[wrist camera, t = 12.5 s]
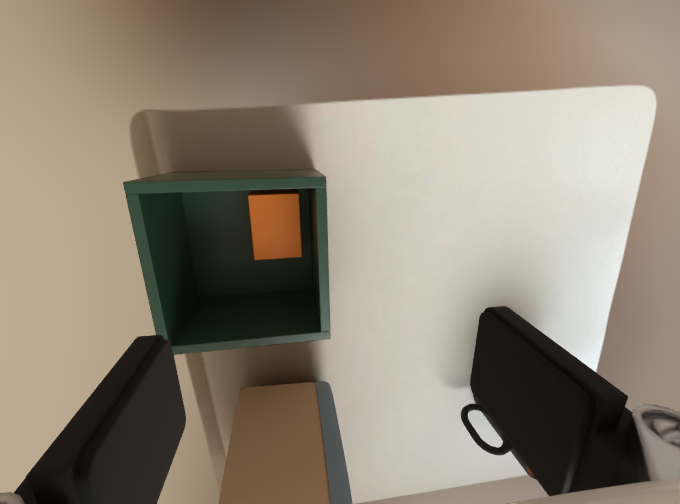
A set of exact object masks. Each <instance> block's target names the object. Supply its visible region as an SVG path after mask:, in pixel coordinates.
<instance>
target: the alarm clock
mask: <svg viewBox="0 0 680 504" xmlns="http://www.w3.org/2000/svg"><path fill="white" fill-rule="evenodd" d="M219 504H352V498H351V491H350V484H349V478H348V473H347V467H346V462H345V456H344V451H343V446H342V441H341V436H340V430H339V425H338V420H337V415H336V409H335V404H334V399H333V395H332V391H331V388H330V385H329V384H328V383H327V382H324V381H319V382H307V383H295V384H282V385H270V386H258V387H245V388H242V389H241V391H240V394H239V398H238V403H237V407H236V412H235V418H234V423H233V428H232V433H231V439H230V444H229V449H228V454H227V460H226V465H225V470H224V475H223V481H222V487H221V493H220V499H219Z"/></svg>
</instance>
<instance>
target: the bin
mask: <svg viewBox="0 0 680 504" xmlns="http://www.w3.org/2000/svg"><path fill="white" fill-rule="evenodd" d="M123 185H124V189H125V193H126V198H127V203H128V208H129V213H130V216H131V221H132V226H133V231H134V235H135V240H136V244H137V249H138V254H139V258H140V263H141V267H142V272H143V277H144V281H145V286H146V291H147V295H148V300H149V304H150V309H151V313H152V318H153V322H154V327H155V332H156V335H162V336H163V338H164V340H167V339H168V340H170V342H171V345H172V350H173V355H176V354H186V353H196V352H206V351H216V350H226V349H236V348H245V347H255V346H265V345H275V344H285V343H295V342H304V341H314V340H324V339H330V304H329V267H328V230H327V193H326V176H324V175H323V174H321V173H320V172H318V171H317V170H316V169H286V170H245V171H203V172H171V173H166V174H161V175H156V176H151V177H146V178H141V179H136V180H132V181H127V182H123ZM277 189H297V190H298V194H299V211H300V229H301V247H302V257H293V258H278V259H262V260H255V259H254V250H253V240H252V230H251V221H250V211H249V201H248V195H249V194H250V192H251V191H252V190H277Z"/></svg>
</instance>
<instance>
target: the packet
mask: <svg viewBox="0 0 680 504" xmlns="http://www.w3.org/2000/svg"><path fill="white" fill-rule="evenodd" d="M248 201H249V211H250V221H251V230H252V240H253V250H254V259H255V260H262V259H278V258H293V257H302V247H301V229H300V211H299V194H298V190H297V189H277V190H252V191H251V192H250V194H249V195H248Z"/></svg>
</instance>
